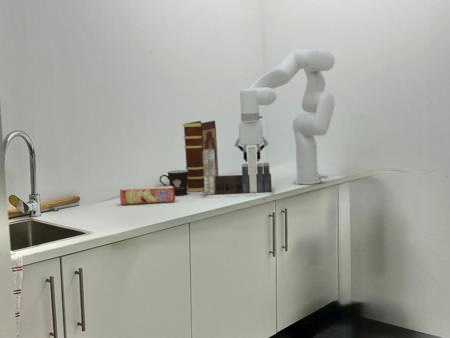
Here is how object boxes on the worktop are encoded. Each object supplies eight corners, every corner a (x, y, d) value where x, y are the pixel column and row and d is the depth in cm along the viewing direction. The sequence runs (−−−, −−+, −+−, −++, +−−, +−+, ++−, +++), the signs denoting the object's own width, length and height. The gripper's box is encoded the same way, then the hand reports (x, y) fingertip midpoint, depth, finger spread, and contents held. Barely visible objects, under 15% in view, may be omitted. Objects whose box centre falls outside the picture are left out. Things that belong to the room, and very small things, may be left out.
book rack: (271, 189, 272) (269, 146, 270) (272, 194, 258) (270, 149, 256) (207, 192, 270) (204, 148, 268) (204, 197, 256) (202, 152, 254)
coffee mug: (193, 193, 269) (192, 170, 268) (181, 196, 261) (180, 173, 260) (171, 192, 274) (170, 169, 272) (159, 195, 266) (157, 172, 265)
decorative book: (202, 191, 272) (198, 123, 268) (185, 191, 274) (181, 123, 270) (219, 183, 294) (215, 120, 290) (203, 183, 296) (199, 120, 292)
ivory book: (257, 188, 270) (255, 147, 267) (257, 192, 259) (255, 149, 256) (250, 188, 269) (248, 147, 267) (249, 192, 258) (247, 149, 256)
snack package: (175, 199, 254) (174, 183, 253) (174, 202, 247) (173, 186, 246) (121, 203, 251) (120, 186, 250) (119, 206, 244) (118, 189, 243)
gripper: (270, 116, 264) (271, 159, 267) (230, 118, 263) (232, 161, 266) (270, 117, 257) (272, 161, 259) (229, 119, 256) (231, 163, 258)
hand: (252, 160), depth 262 cm, fingers open, 4 cm apart
